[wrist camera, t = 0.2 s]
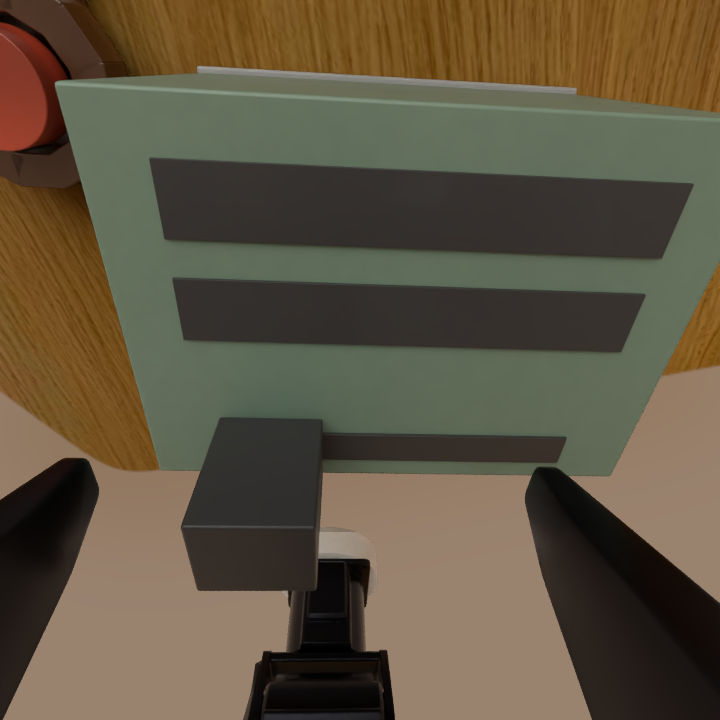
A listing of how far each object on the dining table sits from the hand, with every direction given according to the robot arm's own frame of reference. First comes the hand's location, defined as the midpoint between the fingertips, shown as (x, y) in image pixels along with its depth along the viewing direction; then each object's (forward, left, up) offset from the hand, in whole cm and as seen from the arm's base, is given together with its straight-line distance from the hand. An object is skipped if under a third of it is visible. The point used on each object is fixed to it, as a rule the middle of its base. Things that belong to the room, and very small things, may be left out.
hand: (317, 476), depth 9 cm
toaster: (+2, -2, -14) cm, 14 cm away
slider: (-2, +1, -3) cm, 4 cm away
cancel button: (+6, +11, -12) cm, 17 cm away
